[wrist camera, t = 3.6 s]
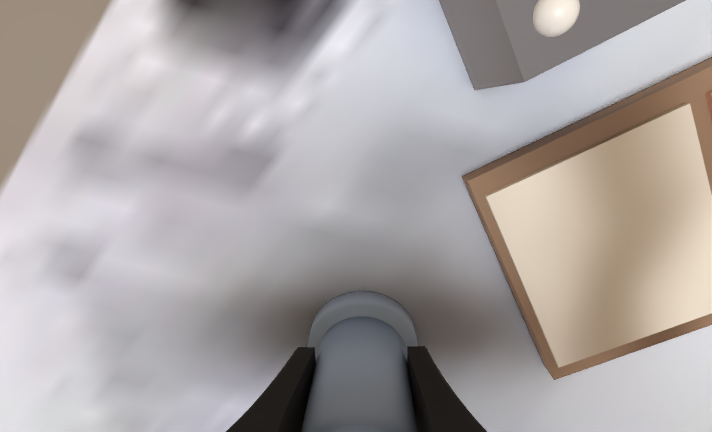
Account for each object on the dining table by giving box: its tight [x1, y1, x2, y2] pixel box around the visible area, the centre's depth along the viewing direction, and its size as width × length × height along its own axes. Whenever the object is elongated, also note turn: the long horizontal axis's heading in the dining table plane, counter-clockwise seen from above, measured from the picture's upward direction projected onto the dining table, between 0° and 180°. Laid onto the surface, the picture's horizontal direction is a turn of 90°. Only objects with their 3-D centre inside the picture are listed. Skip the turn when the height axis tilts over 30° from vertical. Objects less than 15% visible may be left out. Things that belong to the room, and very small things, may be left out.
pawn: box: [301, 291, 418, 432], centre depth 11 cm, size 4×4×7 cm
